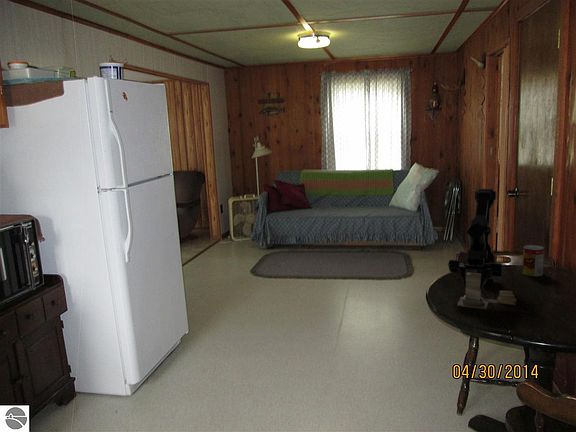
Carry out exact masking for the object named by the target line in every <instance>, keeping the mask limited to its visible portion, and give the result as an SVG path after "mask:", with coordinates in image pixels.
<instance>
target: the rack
mask: <svg viewBox="0 0 576 432" xmlns="http://www.w3.org/2000/svg"><path fill="white" fill-rule="evenodd" d="M489 303H490V304H491V303H493V304H500V305H501V304H502V305H506V304H505V303H499V296H497V299H491V298H489V299H488V298H484V296H481V301H479V300H470V299H466V294H464V296H460V298H459V301H458V302H457V305H456V306H457V307H462V308H463V307H464V308H472V309H478V310H479V309H480V310H487V307H488V304H489ZM507 305H510V306H517V298H514V304H507Z"/></svg>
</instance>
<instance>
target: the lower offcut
mask: <svg viewBox="0 0 576 432" xmlns="http://www.w3.org/2000/svg"><path fill="white" fill-rule="evenodd" d="M498 295H499V294H498ZM498 297H499V303H498V304H500V303H505V304H504V305H508V304H514V300H507V299H501V298H500V295H499V296H498Z"/></svg>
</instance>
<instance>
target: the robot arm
mask: <svg viewBox="0 0 576 432" xmlns="http://www.w3.org/2000/svg"><path fill="white" fill-rule="evenodd" d="M497 195H498V194H497V191H495V190H494V188H478V190H475V191H474V200H475V201H476V209H475V217H474V218H472V220H471V222H470V225H469V226H468V228H467V230H466V233H467V236H468V242H469V249H467V251H466V252H467V254H466V263H467V264H466V263H464V262H461V260H459V259H449V260H448V269H449V270H448V271H449V273H456V274H458V275H460V276H461V278H462V281H463V286H464V288H465V289H466V273H467V270H471V271H475V273H481V284H480V289H481V290H482V289H483V288H484V286H485V284H486V283H487V282H488V281H492V280H494V279H493V277H500V278H501V277H503V264H502V263H498V262H496V256H495V254H494V252H493V249H492V247H491V244H490V243H489V239H490V238H489V237H490V235H491V234H492V228H491V226H490V220H491V218H490V217H491V209H492V208H493V207H494V205H495V203H496V202H495V201H496V200H497V197H498V196H497Z"/></svg>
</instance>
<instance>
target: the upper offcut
mask: <svg viewBox="0 0 576 432" xmlns="http://www.w3.org/2000/svg"><path fill="white" fill-rule="evenodd" d="M498 293H499V294H498V295H500V298H501V299H507V300H514V299H515V294H514V293H513V291H512V290H499V292H498Z"/></svg>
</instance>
